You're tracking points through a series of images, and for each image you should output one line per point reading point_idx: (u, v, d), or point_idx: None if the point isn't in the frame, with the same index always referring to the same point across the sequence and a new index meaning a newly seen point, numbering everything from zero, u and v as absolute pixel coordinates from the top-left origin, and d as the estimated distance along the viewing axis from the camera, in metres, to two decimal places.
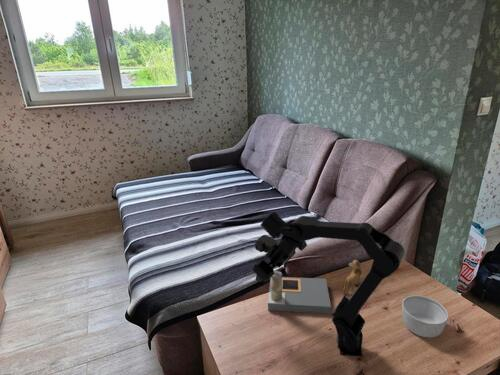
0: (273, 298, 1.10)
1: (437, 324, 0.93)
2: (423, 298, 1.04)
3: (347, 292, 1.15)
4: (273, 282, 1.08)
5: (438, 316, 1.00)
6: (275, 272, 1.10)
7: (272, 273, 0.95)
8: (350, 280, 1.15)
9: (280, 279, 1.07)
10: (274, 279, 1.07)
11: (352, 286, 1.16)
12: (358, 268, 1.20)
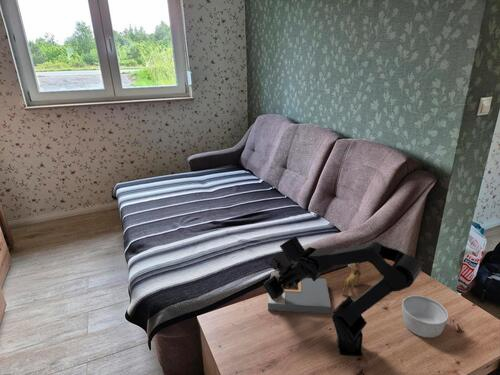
0: None
1: (437, 324, 0.93)
2: (423, 298, 1.04)
3: (347, 293, 1.15)
4: None
5: (438, 316, 1.00)
6: (275, 272, 1.10)
7: (281, 293, 1.00)
8: (349, 281, 1.15)
9: None
10: None
11: (351, 287, 1.15)
12: (357, 269, 1.19)
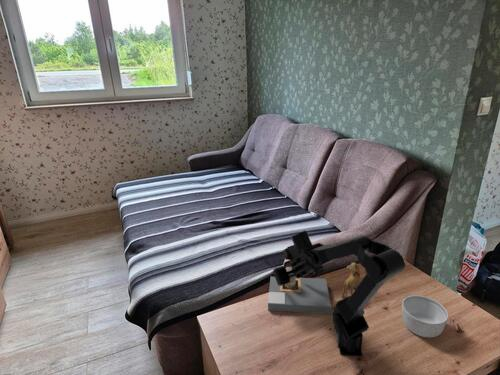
0: None
1: (437, 324, 0.93)
2: (423, 298, 1.04)
3: (346, 295, 1.14)
4: None
5: (438, 316, 1.00)
6: (290, 268, 1.17)
7: (287, 281, 1.07)
8: (349, 283, 1.14)
9: None
10: None
11: (351, 289, 1.14)
12: (357, 271, 1.18)
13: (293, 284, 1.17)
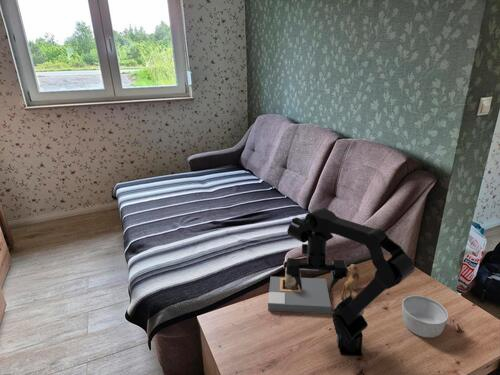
0: None
1: (437, 324, 0.93)
2: (423, 298, 1.04)
3: (345, 297, 1.12)
4: (286, 276, 1.16)
5: (438, 316, 1.00)
6: None
7: (296, 268, 0.96)
8: (348, 285, 1.13)
9: None
10: None
11: (350, 291, 1.13)
12: (356, 272, 1.17)
13: (293, 284, 1.17)
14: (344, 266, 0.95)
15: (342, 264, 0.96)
